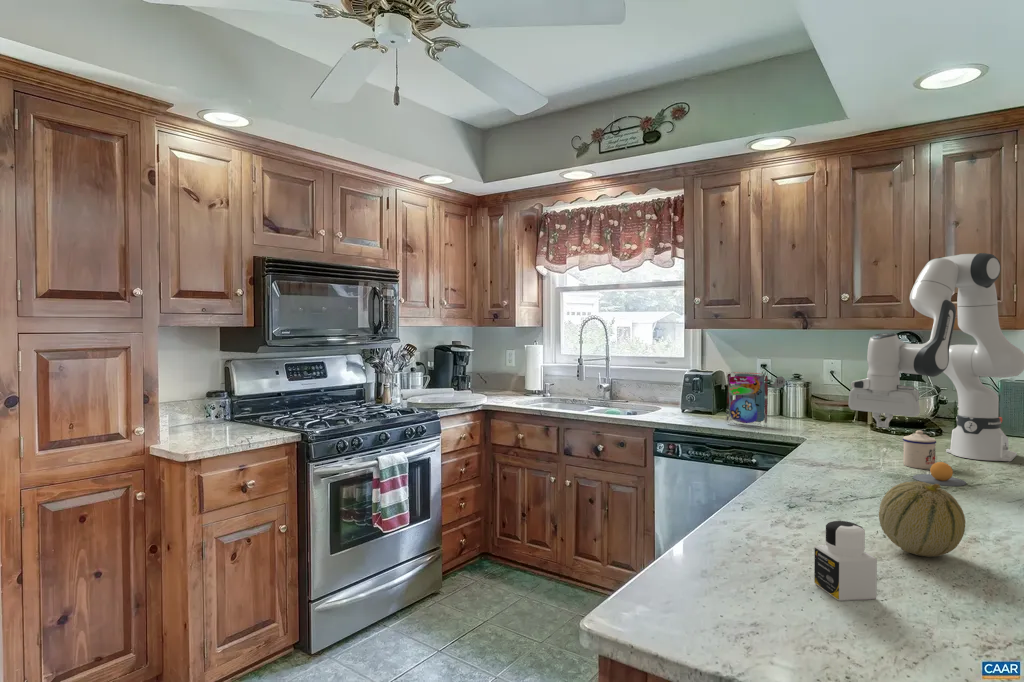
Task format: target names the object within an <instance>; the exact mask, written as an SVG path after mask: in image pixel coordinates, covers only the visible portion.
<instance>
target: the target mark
mask: <svg viewBox="0 0 1024 682" xmlns="http://www.w3.org/2000/svg"><path fill="white" fill-rule="evenodd" d="M912 479H913V480H915V481H920V482H925V483H928V484H932V485H934V484H939V485H940V486H942V487H943V486H945V487H962V486H965V485H967V481H966V480H963V479H960V478H958V477H955V476H954V477H953V476H952V477H951V478H950V479H949V480H946V481H940V480H937V479H935V478H934V477H933V476H932V475H931V473H928V474H927V473H923V474H922V473H920V474H914V475H913V476H912Z"/></svg>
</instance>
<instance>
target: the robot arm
mask: <svg viewBox="0 0 1024 682" xmlns="http://www.w3.org/2000/svg"><path fill="white" fill-rule="evenodd" d="M1001 269H1002V268H1001V262H1000V261H999V258H997V257H996V256H995V254H992V253H985V252H980V253H979V252H978V253H961V254H956V255H948V256H944V257H943V256H939V257H936V258H932V259H930V260H928V262H927V263H925V265H924V267H923V268H922V270H921V271H920V272H919V274H918V276H917V278H916V280H915V282H914V284H913V285H912V286H913V287H912V289H911V290H910V294H909V302H910V305H911V306H912V308H913V309H914V311H917V312H918V313H919V314H921V315H923V316H925V317H928V318H931V319H932V320H933V323H932V324H933V325H932V329H931V333H930V337H929V340H928V341H926V342H924V343H907V342H904V341H903V340H901V339H899V336H898V334H897V333H893V332H883V333H876V334H874V335H871V336H870V337H869V340H868V346H867V354H866V355H867V359H866V361H867V365H868V370H867V372H866V373H867V374H866V378H862V379H859V380H853V381H851V383H850V386H851V388H852V389H850V391H849V394H848V402H847V403H848V407H849V409H850V411H851V410H852V411H857V412H858V411H860V412H869V413H872V417H873V419H874V420H875V422H876V428H886V429H888V428H889V426H890V422H891V420H892V419H893V417H894V416H902V417H912V418H913V417H918V416H919V415H920V414H921V413H920V412H921V408H920V407H921V406H920V400H919V399H920V391H919V389H917V388H916V387H915V386H913V385H912V386H911V385H910V386H909V385H907V386H906V385H900V376H901V374H902V373H904V374H909V375H910V374H911V375H920V376H926V377H931V378H933V377H934V378H935V377H937V376H939V375H940V374H942V373H943V374H944V375H946V377H948V378H949V380H950V381H951V383H952V384H953V386H954V387H955V390H956V394H957V403H958V406H957V407H958V412H957V413H958V414H956V419H955V420H956V425H957V426H956V427H955V428H953V429H952V431H951V441H950V448H946V450H945V451H946V453H949V454H952V455H953V456H957V457H960V458H966V459H971V460H979V461H995V462H996V461H997V462H999V461H1000V462H1012V461H1014V459H1015V458H1017V456H1018V454H1017V451H1013V450H1009V444H1010V443H1009V437H1008V436H1007V435H1006V434H1005V433H1004V431H1003V430H1002V429H1001V428H1002V425H1001V424H1003V417H1002V416H999V403H1000V402H999V401H1000V400H999V399H1000V398H999V396H998V394H997V393H996V392H995V391H994V390H993V389H991V388H989V387H987V386H985V385H984V384H983V383H982V381H981V379H980V377H984V378H985V377H986V378H999V379H1001V378H1010V377H1011V378H1012V377H1017V376H1018V377H1019V375H1021V374H1022V373H1023V372H1024V352H1023V351H1022V350H1021V349H1020V348H1018V347H1017V346H1015V345H1014V344H1012V343H1011V342H1010V341H1009V339H1007V337H1006V336H1005V334H1003V331H1002V329H1001V326H1000V320H999V308H998V307H999V306H998V303H999V301H998V295H997V288H996V283H995V282H996V281H997V280H998V279H999V276H1000V275H1001ZM955 288H957V300H956V301H957V302H956V305H957V307H956V306H955V304H954V303H953V302H952V297H953V294H954V291H955ZM956 308H957V309H956ZM956 316H957V327H958V328H959V330H961V331H962V332H963V333H964V334H967V335H969V336H971V337H973V339H974V341H976V344H958V343H957V344H953V345H952V344H951V342H952V336H953V332H954V327H955V322H956ZM881 414H883V415H884V417H885V420H883V421H882V419H881V417H880V416H882V415H881Z"/></svg>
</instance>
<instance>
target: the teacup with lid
mask: <svg viewBox="0 0 1024 682" xmlns="http://www.w3.org/2000/svg"><path fill="white" fill-rule="evenodd" d="M902 440H903V456H902V457H903V461H902V462H903V465H904V466H905V467H909V468H913V469H919V470H920V469H921V470H930V468H931V466H932V465H933V464H934V463H936V444H937V440H936V439H935V438H933V437H930V436H929V435H927V434H924V431H923V430H920V429H919V430H916V431H915V433H912V434H910V435H909V434H908V435H905V436H903V437H902Z"/></svg>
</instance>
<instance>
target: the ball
mask: <svg viewBox="0 0 1024 682" xmlns="http://www.w3.org/2000/svg"><path fill="white" fill-rule="evenodd" d="M929 472H930V474H931V475H932V476H933V477H934V478H935V479H937V480H940V481H946V480H949V479H950V478H951V477H953V475H954V471H953V468H952V466H951V465H950V464H948V463H946V462H943V461H937V462H935V463H934V464H933V465H932V466H931V468H930V469H929Z"/></svg>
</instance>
